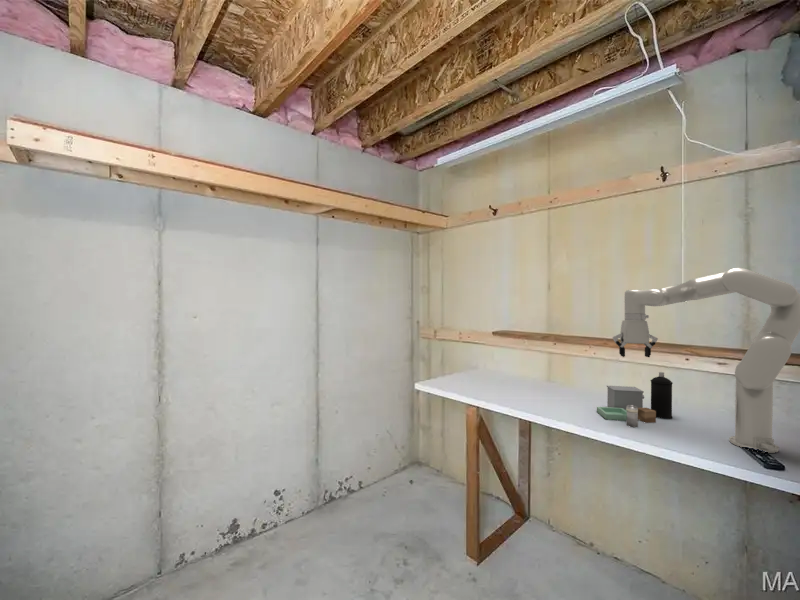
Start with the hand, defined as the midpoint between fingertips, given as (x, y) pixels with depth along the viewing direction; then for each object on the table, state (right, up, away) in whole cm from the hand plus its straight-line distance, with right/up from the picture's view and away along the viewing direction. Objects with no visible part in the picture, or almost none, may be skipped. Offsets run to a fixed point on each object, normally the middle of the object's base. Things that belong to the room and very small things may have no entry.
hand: (634, 356), depth 153 cm
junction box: (+4, -28, +14) cm, 32 cm away
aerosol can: (+16, -28, +6) cm, 33 cm away
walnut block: (+5, -28, 0) cm, 29 cm away
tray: (-6, -28, +5) cm, 29 cm away
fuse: (-6, -28, -6) cm, 29 cm away
